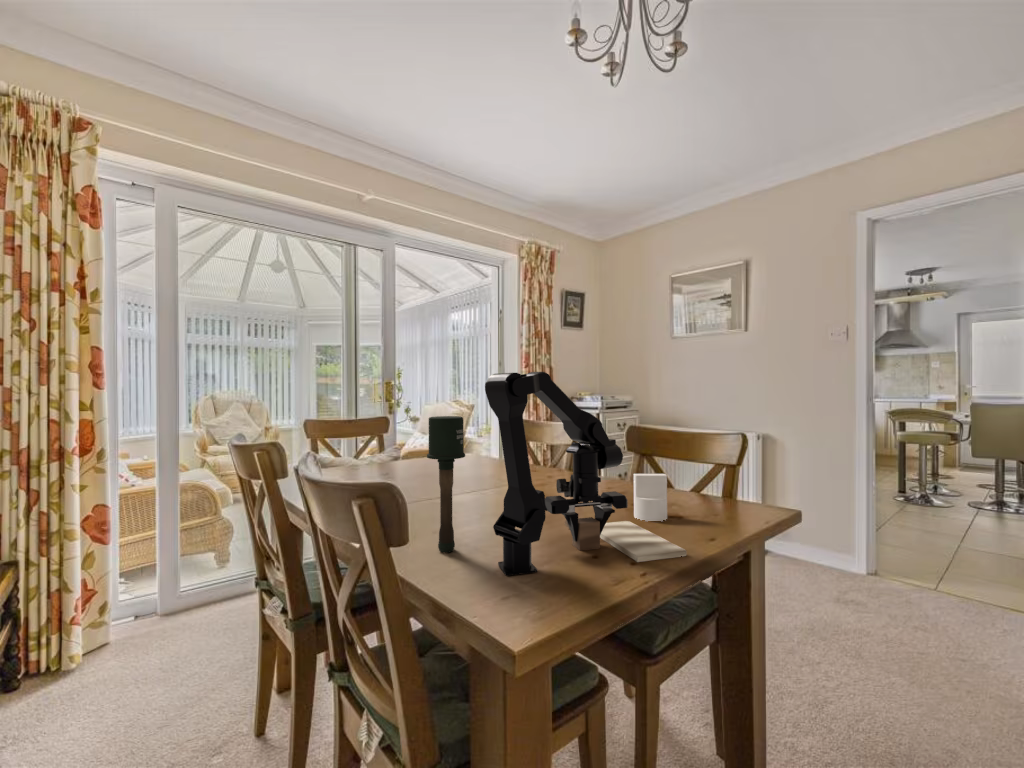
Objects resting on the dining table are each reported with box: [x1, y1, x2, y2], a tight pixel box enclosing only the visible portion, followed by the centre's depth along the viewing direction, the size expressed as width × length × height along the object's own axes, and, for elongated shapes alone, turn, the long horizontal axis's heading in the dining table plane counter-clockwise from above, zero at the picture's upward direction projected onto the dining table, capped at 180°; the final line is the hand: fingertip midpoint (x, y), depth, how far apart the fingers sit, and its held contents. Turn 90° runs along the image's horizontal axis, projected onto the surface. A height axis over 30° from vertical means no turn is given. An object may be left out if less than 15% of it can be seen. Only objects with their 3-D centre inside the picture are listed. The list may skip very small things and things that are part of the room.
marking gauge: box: [564, 516, 601, 551], centre depth 111 cm, size 12×5×6 cm, turn 17°
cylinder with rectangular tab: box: [633, 473, 668, 522], centre depth 131 cm, size 9×9×12 cm
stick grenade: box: [426, 415, 466, 553], centre depth 105 cm, size 8×9×30 cm
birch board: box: [600, 520, 688, 563], centre depth 111 cm, size 24×12×1 cm, turn 17°
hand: (586, 539), depth 107 cm, fingers closed on marking gauge, 5 cm apart
